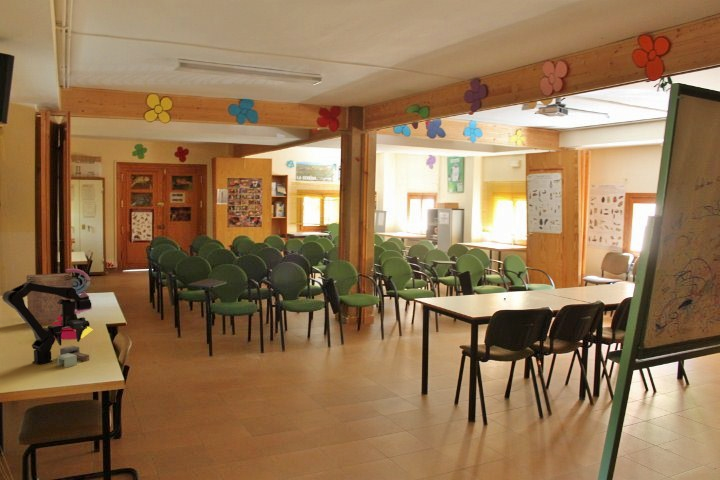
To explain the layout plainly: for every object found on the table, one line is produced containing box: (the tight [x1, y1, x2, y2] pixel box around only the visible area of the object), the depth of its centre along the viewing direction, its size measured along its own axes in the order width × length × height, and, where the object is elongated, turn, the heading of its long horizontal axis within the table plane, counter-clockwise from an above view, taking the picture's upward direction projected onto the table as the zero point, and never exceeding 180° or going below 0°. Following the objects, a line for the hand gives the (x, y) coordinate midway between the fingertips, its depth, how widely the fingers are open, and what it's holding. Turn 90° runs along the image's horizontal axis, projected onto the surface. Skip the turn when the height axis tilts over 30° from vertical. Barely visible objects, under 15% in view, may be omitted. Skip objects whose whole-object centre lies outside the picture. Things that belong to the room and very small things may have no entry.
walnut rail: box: [71, 352, 90, 363], centre depth 286 cm, size 3×10×2 cm, turn 57°
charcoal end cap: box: [59, 345, 81, 355], centre depth 291 cm, size 6×7×4 cm
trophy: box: [65, 268, 93, 315], centre depth 407 cm, size 20×17×30 cm
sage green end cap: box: [56, 353, 78, 368], centre depth 277 cm, size 6×7×4 cm
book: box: [26, 272, 73, 325], centre depth 374 cm, size 25×9×30 cm, turn 119°
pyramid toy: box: [49, 315, 94, 340], centre depth 338 cm, size 25×25×14 cm
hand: (69, 343), depth 291 cm, fingers open, 9 cm apart
